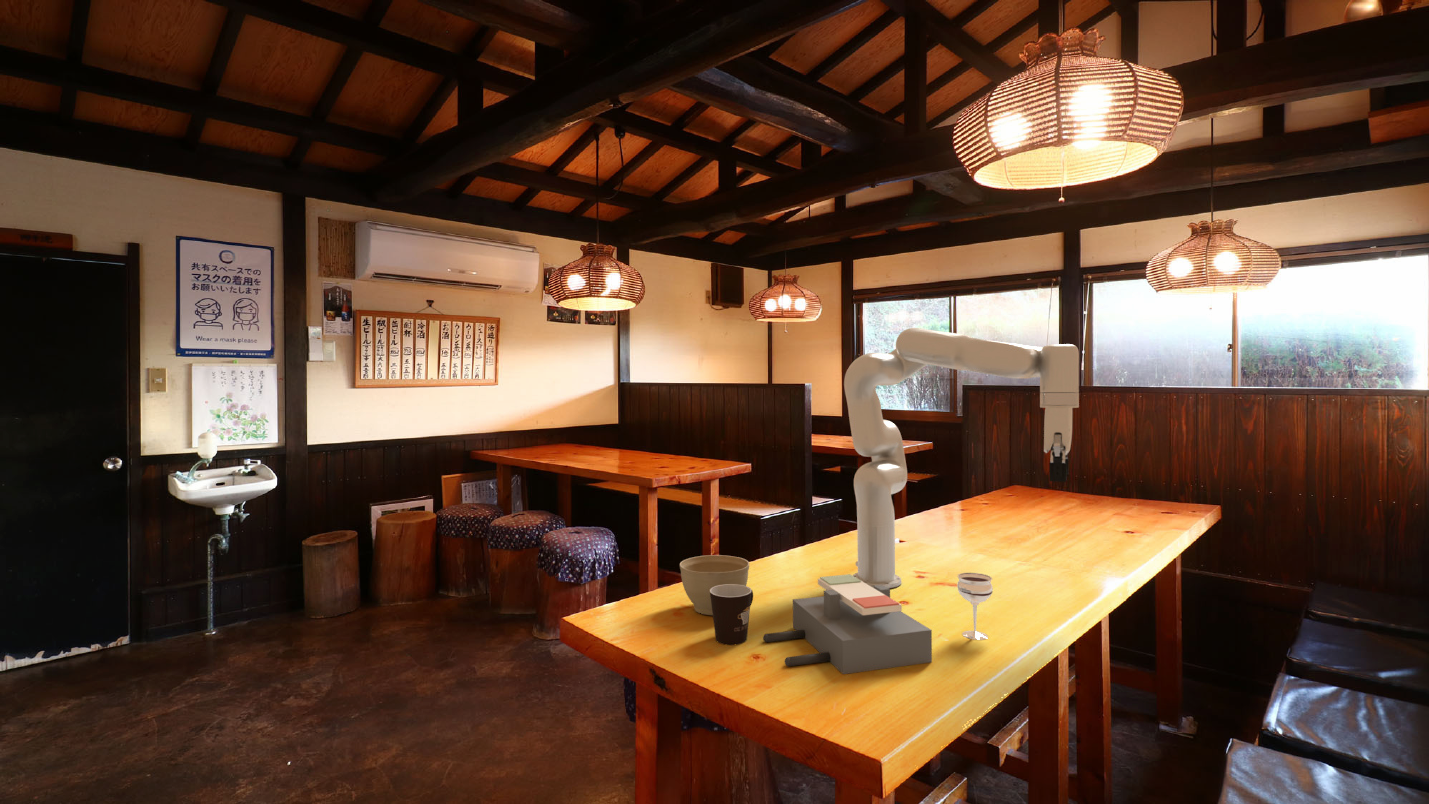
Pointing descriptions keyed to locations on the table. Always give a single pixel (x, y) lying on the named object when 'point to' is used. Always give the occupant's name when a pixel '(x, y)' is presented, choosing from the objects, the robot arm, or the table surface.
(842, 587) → the breaker paddle
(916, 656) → the box
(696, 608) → the planter bowl
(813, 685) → the table surface
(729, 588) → the coffee mug
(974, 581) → the wineglass
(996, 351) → the robot arm
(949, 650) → the table surface
